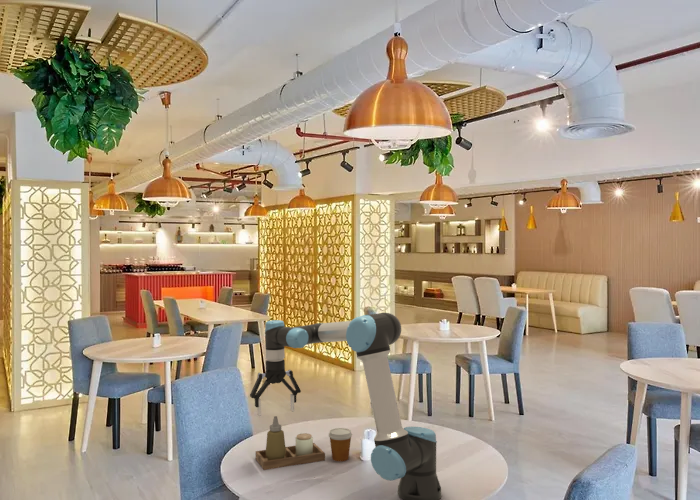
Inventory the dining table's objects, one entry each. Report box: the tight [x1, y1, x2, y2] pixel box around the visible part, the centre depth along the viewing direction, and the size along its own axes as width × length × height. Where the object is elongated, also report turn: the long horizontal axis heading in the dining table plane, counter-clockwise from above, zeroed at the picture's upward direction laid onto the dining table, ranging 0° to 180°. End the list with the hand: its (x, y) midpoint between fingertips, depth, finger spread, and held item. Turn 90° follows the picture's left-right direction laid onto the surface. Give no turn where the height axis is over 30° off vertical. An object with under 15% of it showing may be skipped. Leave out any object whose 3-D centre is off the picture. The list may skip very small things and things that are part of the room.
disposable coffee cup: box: [328, 427, 353, 462], centre depth 240 cm, size 10×10×12 cm
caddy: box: [255, 442, 326, 471], centre depth 239 cm, size 13×25×4 cm, turn 113°
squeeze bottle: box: [265, 416, 286, 460], centre depth 236 cm, size 8×8×18 cm
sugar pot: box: [295, 432, 314, 456], centre depth 241 cm, size 7×7×9 cm
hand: (276, 413), depth 236 cm, fingers open, 13 cm apart
